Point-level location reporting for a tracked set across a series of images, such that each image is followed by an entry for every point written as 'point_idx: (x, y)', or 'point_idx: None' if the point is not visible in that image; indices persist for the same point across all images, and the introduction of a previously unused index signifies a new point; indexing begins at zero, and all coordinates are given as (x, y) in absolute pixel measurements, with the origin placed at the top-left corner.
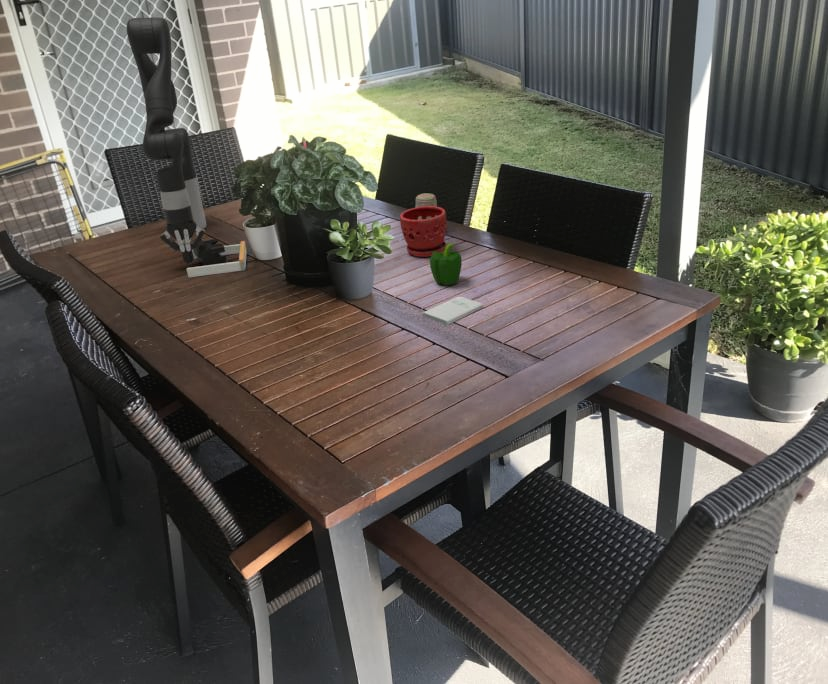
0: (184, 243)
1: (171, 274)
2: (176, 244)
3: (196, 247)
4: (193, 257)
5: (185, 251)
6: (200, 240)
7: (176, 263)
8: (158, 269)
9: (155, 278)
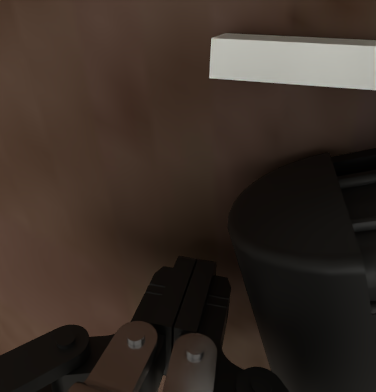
0: (138, 381)
1: (104, 296)
2: (57, 375)
3: (268, 337)
4: (229, 297)
5: (163, 367)
6: (342, 315)
7: (95, 116)
8: (4, 180)
9: (35, 304)
